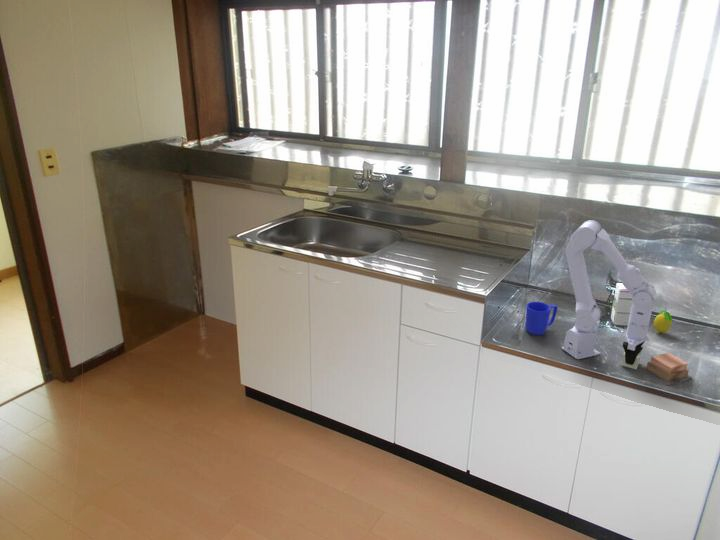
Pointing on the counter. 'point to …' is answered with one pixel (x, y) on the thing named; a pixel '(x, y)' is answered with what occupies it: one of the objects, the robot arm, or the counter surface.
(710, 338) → the counter surface
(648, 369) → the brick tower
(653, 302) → the robot arm
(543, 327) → the mug
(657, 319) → the lemon
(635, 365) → the sage brick
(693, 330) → the counter surface
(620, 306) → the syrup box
